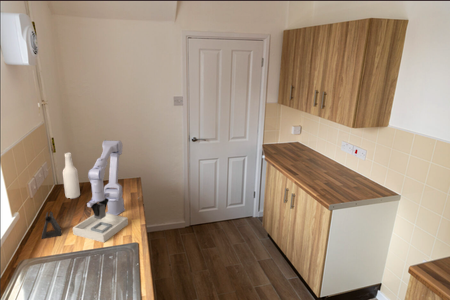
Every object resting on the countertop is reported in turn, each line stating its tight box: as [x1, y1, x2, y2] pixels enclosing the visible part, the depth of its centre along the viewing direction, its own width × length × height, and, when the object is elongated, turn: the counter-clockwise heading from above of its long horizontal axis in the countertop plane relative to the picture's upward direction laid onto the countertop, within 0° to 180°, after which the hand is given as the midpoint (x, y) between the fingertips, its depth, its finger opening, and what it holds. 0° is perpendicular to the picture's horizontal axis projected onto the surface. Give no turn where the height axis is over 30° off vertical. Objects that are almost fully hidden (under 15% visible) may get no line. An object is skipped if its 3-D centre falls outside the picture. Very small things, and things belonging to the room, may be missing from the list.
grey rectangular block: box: [93, 202, 106, 219], centre depth 164 cm, size 4×4×7 cm
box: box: [72, 212, 129, 243], centre depth 166 cm, size 20×20×4 cm
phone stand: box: [40, 211, 62, 240], centre depth 159 cm, size 9×6×12 cm, turn 115°
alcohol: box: [62, 152, 81, 200], centre depth 201 cm, size 9×9×30 cm
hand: (100, 213), depth 164 cm, fingers closed on grey rectangular block, 4 cm apart
